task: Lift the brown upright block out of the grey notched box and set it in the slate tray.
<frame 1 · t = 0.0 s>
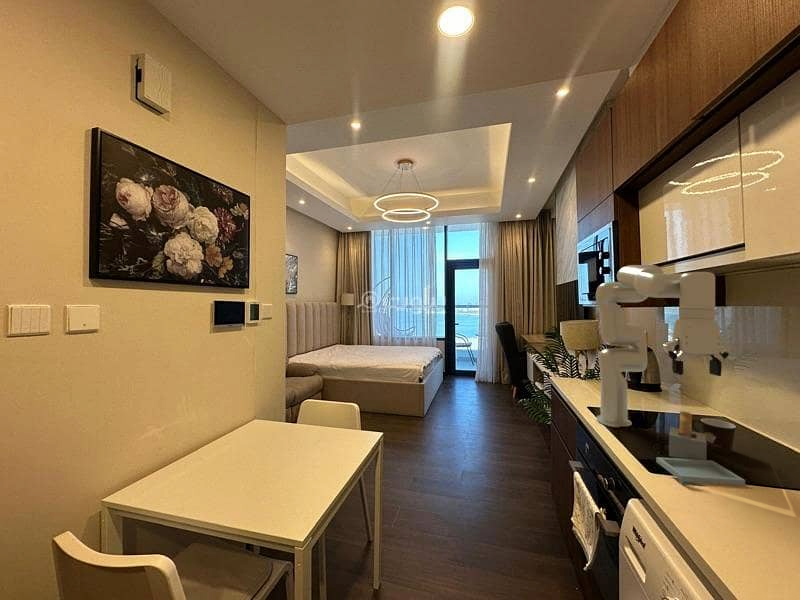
hand: (696, 374, 93), 31 cm above the cooktop, fingers open, 9 cm apart
brown upright block: (684, 454, 108), point 1 cm above the cooktop, tilted 10°, touching grey notched box
coffee mug: (714, 450, 113), on the cooktop
grey notched box: (687, 458, 107), on the cooktop
slate tray: (697, 476, 96), on the cooktop
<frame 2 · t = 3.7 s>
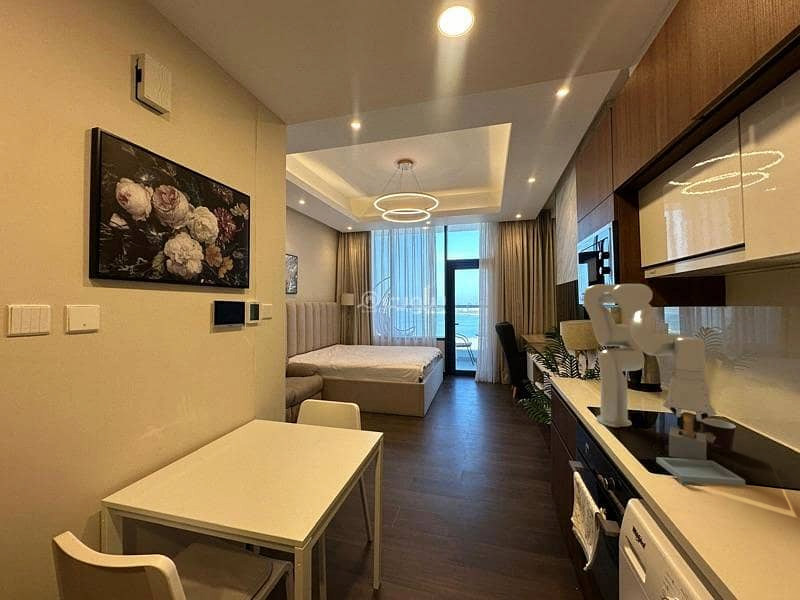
hand: (688, 429, 107), 10 cm above the cooktop, fingers closed on brown upright block, 3 cm apart
brown upright block: (688, 455, 107), point 1 cm above the cooktop, tilted 11°, touching grey notched box, gripper
everything else where it was.
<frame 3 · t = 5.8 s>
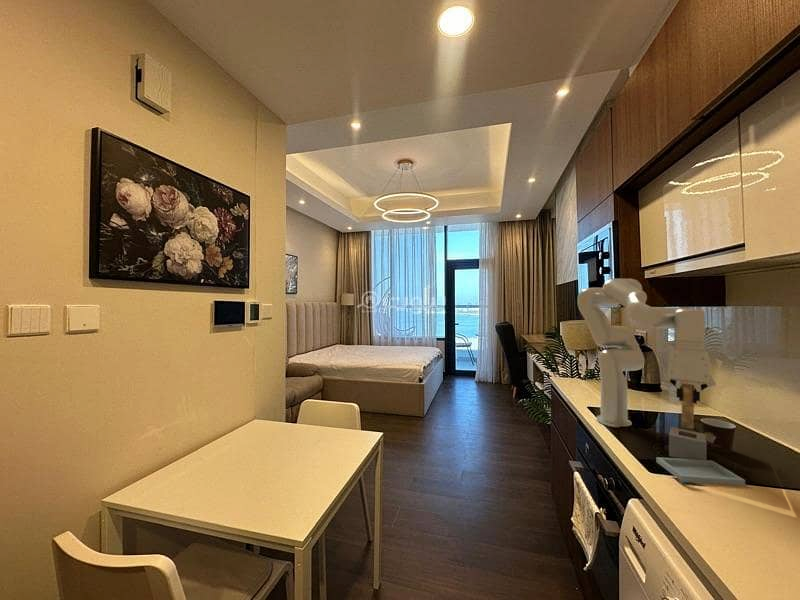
hand: (687, 400, 107), 19 cm above the cooktop, fingers closed on brown upright block, 3 cm apart
brown upright block: (687, 426, 107), point 10 cm above the cooktop, tilted 10°, touching gripper
everything else where it was.
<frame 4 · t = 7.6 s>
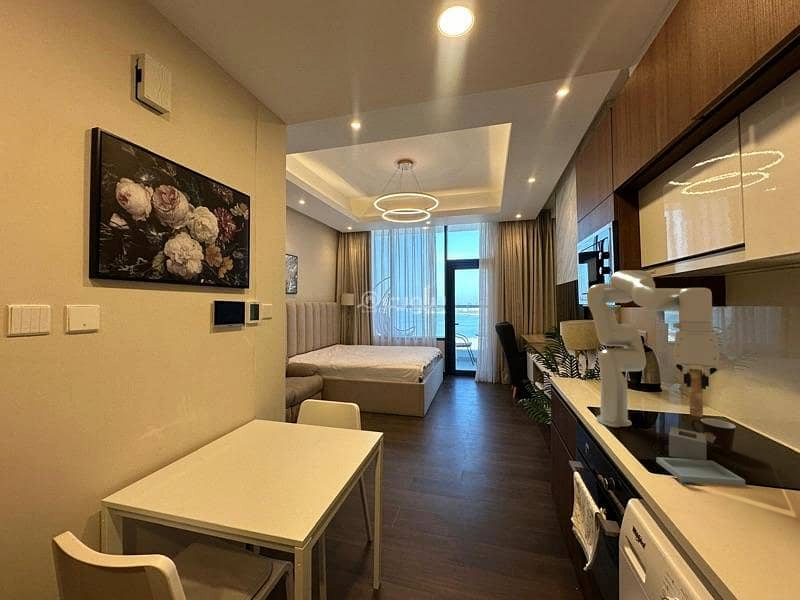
hand: (696, 386, 100), 26 cm above the cooktop, fingers closed on brown upright block, 3 cm apart
brown upright block: (696, 415, 99), point 17 cm above the cooktop, tilted 12°, touching gripper
everything else where it was.
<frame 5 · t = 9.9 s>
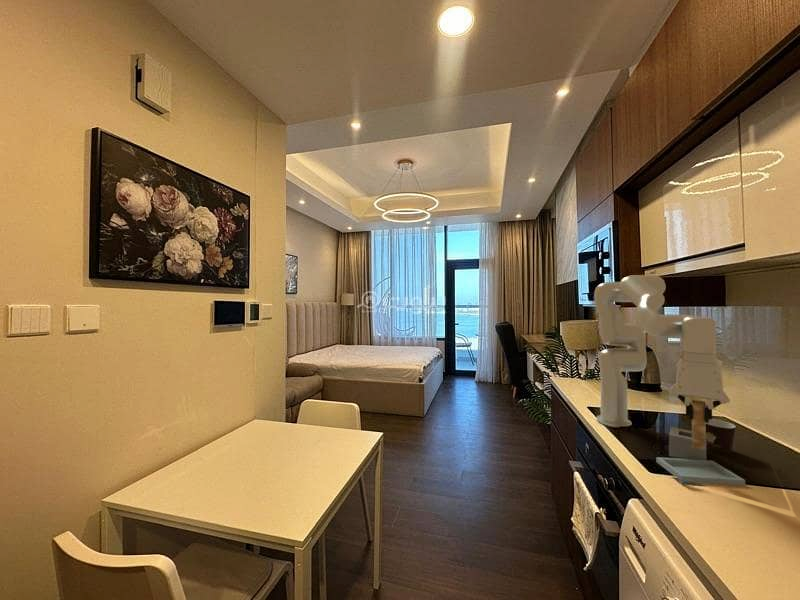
hand: (698, 419, 96), 17 cm above the cooktop, fingers closed on brown upright block, 3 cm apart
brown upright block: (698, 448, 96), point 8 cm above the cooktop, tilted 11°, touching gripper
everything else where it was.
when the fingers open (10 cm above the cooktop, at t = 11.8 s): brown upright block stays where it is, resting on slate tray.
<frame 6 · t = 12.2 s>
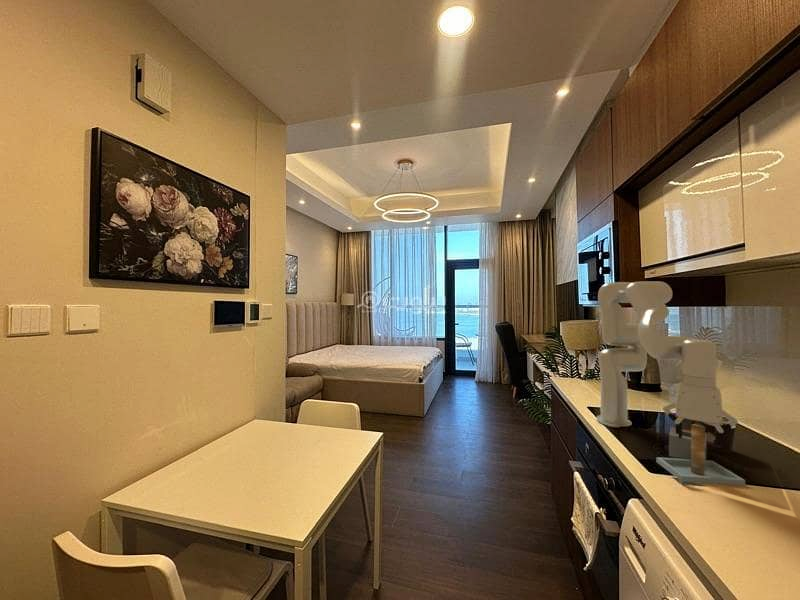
hand: (698, 440, 96), 11 cm above the cooktop, fingers open, 7 cm apart
brown upright block: (697, 472, 96), point 1 cm above the cooktop, tilted 11°, touching slate tray
everything else where it was.
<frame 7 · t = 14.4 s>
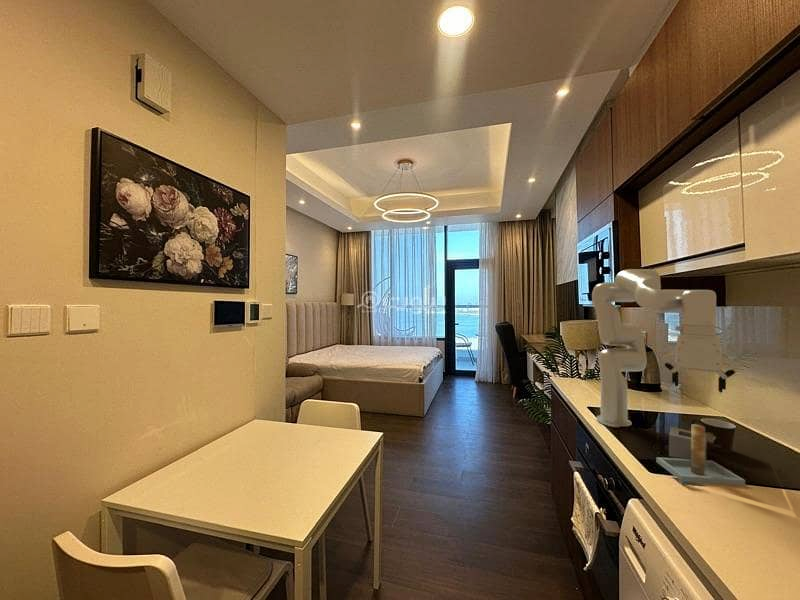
hand: (697, 388, 96), 26 cm above the cooktop, fingers open, 9 cm apart
nothing on the cooktop moved.
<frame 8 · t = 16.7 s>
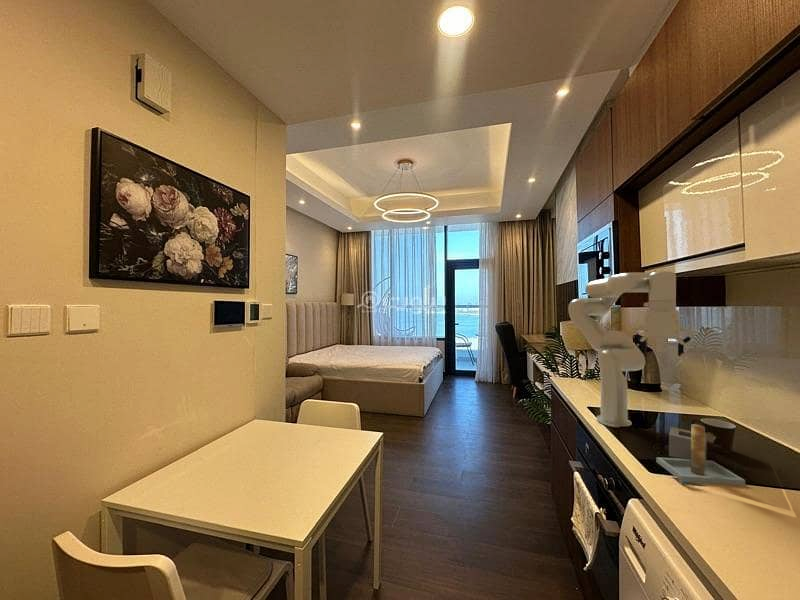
hand: (661, 354, 115), 33 cm above the cooktop, fingers open, 9 cm apart
nothing on the cooktop moved.
at the end: brown upright block inside the target area on the slate tray (0.1 cm from its centre), point 1.0 cm above the slate tray's base; brown upright block tilted 11°; the gripper is holding nothing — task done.
